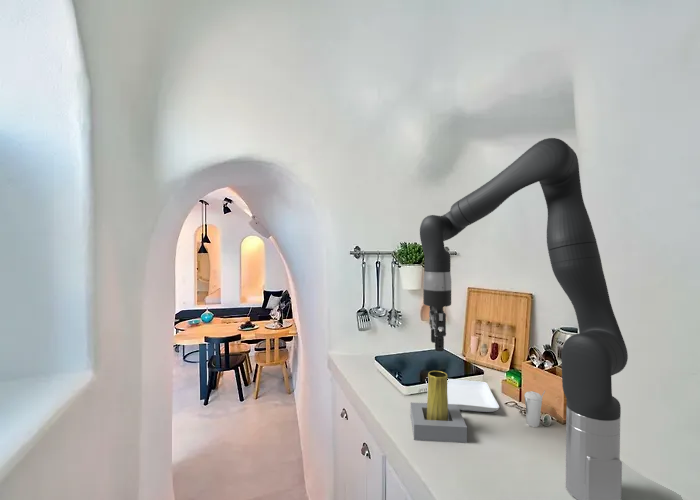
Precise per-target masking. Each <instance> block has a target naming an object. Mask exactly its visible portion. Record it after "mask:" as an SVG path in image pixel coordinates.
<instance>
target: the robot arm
mask: <svg viewBox="0 0 700 500" xmlns="http://www.w3.org/2000/svg"><path fill="white" fill-rule="evenodd" d="M538 182H539V184H540V185H539V186H540V187H541V190H542V193H543V197H544V199H545V204H546V208H547V219H546V220H547V221H546V222H547V223H546V246H547V251H548V256H549V261H550V265H551V269H552V272H553V275H554V276H555V278H556V281H557V282H558V284H559V285H560V287H561V288H562V290H563V291H564V293H565V295H566V296H567V298H568V299H569V301H570V303H571V305H572V307H573V309H574V312H575V315H576V319H577V324H578V331H579V332H578V333H576V334H573V335H570V336H569V337H567V338H566V340H565V341H564V343H563V345H562V348H561V349H562V350H561V383H562V390H563V394H564V396H565V399H566V412H565V413H566V414H565V415H566V416H565V417H566V422H565V423H566V424H565V427H566V428H565V488H566V491H568V493H569V494H570V496H572V497H573V498H575V499H576V500H622V482H623V481H622V477H623V474H622V473H623V471H622V470H623V461H622V460H621V459H620V458H621V451H620V450H621V412H622V411H621V410H622V409H621V408H622V407H621V403H620V401H619V399H617V397H615V396H613V388H612V376H614V375H617V374H619V373H620V372H621V371H623V370H624V369H625V367H626V365H627V363H628V359H629V355H628V349H627V345H626V343H625V339H624V337H623V335H622V332H621V329H620V326H619V323H618V321H617V318H616V315H615V312H614V309H613V305H612V303H611V299H610V295H609V289H608V286H607V285H608V284H607V281H606V278H605V277H606V276H605V273H604V269H603V268H604V267H603V264H602V258H601V255H600V254H601V253H600V251H599V246H598V242H597V239H596V235H595V232H594V229H593V225H592V222H591V220H590V219H591V218H590V216H589V213H588V211H587V208H586V205H585V202H584V198H583V192H582V186H581V185H582V184H581V176H580V164H579V159H578V155H577V153H576V152H575V150H574V149H573V148H572V147H571V146H570V145H569V144H568V143H566V142H565V141H564V140H562V139H560V138H557V137H548V138H544V139H541V140H539V141H538V142H536V143H535V144H533V145H532V146H530V147H529V148H528V149H527V150H526V151H524V153H522V154H521V155H520V156H518V158H516V159H515V160H514V161H513V162H512V163H510V164H509V165H508V166H507V167H506V168H504V169H502V170H501V171H500V172H499V173H498V174H496V175H495V176H494V177H493V178H491V179H490V180H488V181H487V182H486V183H484V184H482V185H481V186H480V187H478V188H477V189H475V190H473V191H472V192H470V193H468V194H467V195H465V196H464V197H462V198H460V199H458V200H457V201H456V202H454V203H453V204H452V205H451V206H450V210H448V211H447V212H446V213H445V214H442V215H435V214H429V215H427V216H425V217H424V218H423V219H422V220H421V223H420V227H419V239H420V243H421V247H422V251H423V254H424V255H423V256H424V266H423V267H424V269H423V270H424V273H423V274H424V275H423V280H422V281H423V292H422V293H423V303H422V304H424V305H425V306H427V307H429V308H428V309H429V311H428V316H429V317H428V318H429V322H428V323H429V328H430V342H431V343H432V344H434V349H435V351H437V352H444V349H445V345H444V344H445V341H444V340H445V337H447V336H446V335H447V326H446V325H447V324H446V323H447V320H446V319H447V314H446V312H445V311H444V307H450V306H452V274H451V254H450V252H449V251H447V250H446V247H445V241H448V240H451V239H452V238H454V237H455V236H457V235H458V234H459V233H461V232H462V231H463V230H465V229H466V228H467V227H468V226H470V225H472V224H475V223H476V222H478V221H479V220H481V219H483V218H485V217H487V216H489V214H492V213H493V212H494V211H495V210H497V209H498V208H499V207H500V206H501V205H502V204H503V203H505V202H506V200H508V199H509V198H510V197H511V196H513V195H515V193H517V192H519V191H521V190H522V189H524V188H526V187H529V186H531V185H533V184H536V183H538ZM440 330H441V331H440Z"/></svg>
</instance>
